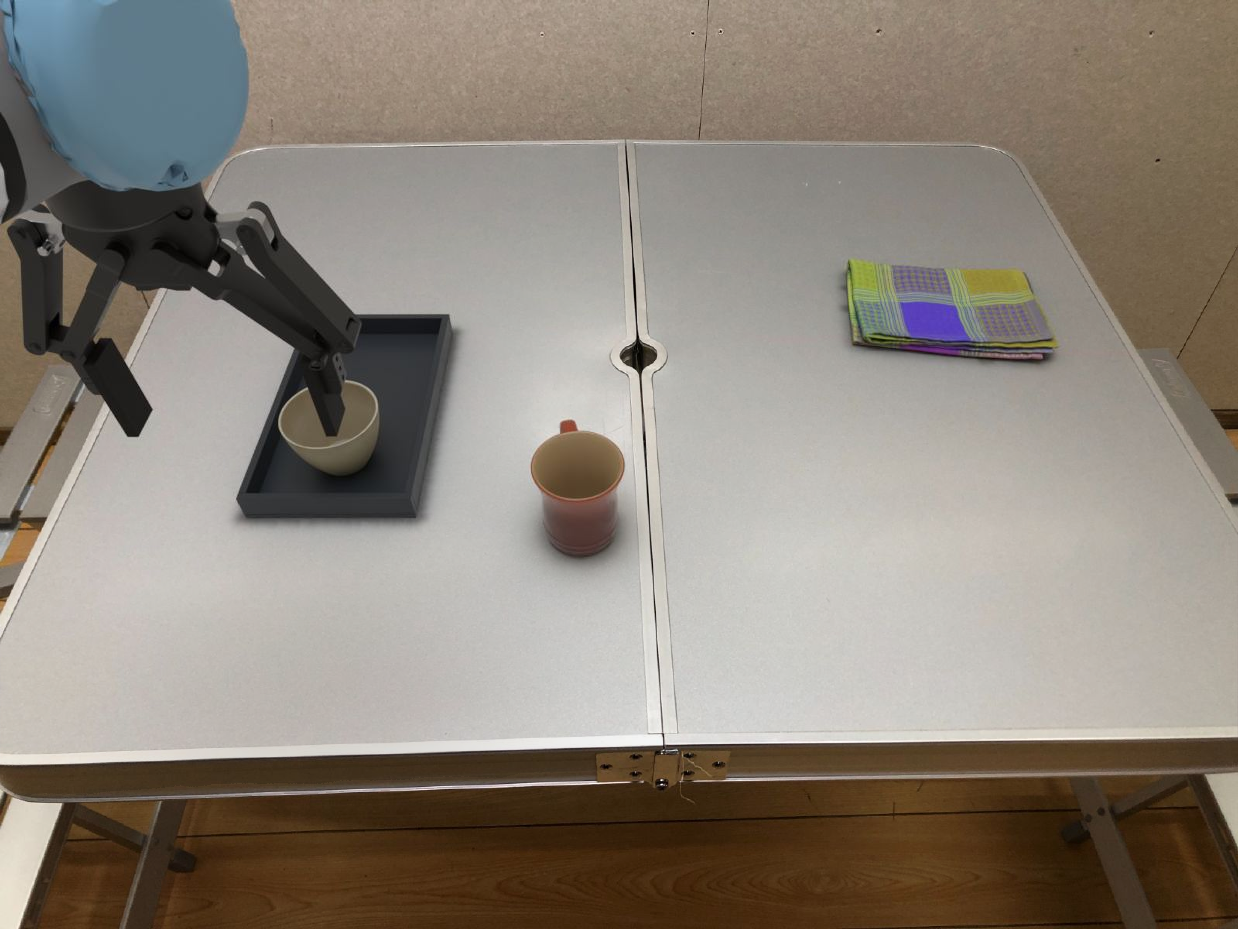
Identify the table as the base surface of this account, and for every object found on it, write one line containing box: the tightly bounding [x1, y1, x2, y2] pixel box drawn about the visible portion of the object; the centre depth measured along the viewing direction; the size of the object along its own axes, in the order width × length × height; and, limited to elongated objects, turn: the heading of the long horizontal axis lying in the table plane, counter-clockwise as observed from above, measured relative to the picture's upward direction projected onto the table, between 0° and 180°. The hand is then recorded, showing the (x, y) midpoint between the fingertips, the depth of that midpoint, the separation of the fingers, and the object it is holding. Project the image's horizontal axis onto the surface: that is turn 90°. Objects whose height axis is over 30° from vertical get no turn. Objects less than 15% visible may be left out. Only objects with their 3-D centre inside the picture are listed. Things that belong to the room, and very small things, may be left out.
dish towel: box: [846, 258, 1060, 360], centre depth 108 cm, size 18×24×3 cm
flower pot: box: [278, 380, 379, 476], centre depth 88 cm, size 10×10×7 cm
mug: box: [530, 419, 626, 557], centre depth 82 cm, size 12×9×10 cm
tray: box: [235, 313, 454, 519], centre depth 95 cm, size 30×18×3 cm, turn 0°
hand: (238, 423), depth 58 cm, fingers open, 13 cm apart
